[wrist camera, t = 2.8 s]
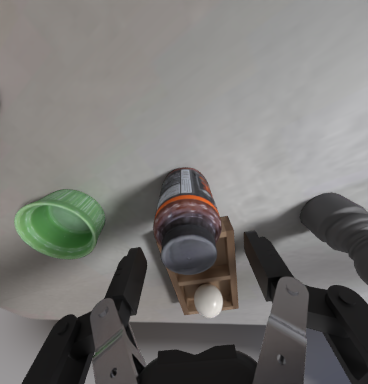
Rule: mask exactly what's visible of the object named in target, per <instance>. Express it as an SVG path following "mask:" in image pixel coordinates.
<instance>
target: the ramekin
mask: <svg viewBox="0 0 368 384" xmlns="http://www.w3.org/2000/svg"><path fill="white" fill-rule="evenodd" d="M104 223H105V214H104V211H103V209H102V208H101V206H100V205H99V204H98V203H97V202H96V201H95V200H94V199H93V198H92V197H90V196H88V195H86V194H84V193H82V192H79V191H75V190H67V189H65V190H59V191H56V192H53V193H51V194H49V195H47V196H46V197H44V198H42V199H40V200H38V201H36V202H33V203H30V204H28V205H26V206H24V207H22V208H21V209H20V210H19V211H18V212H17V214H16V215H15V219H14V224H15V228H16V231H17V233H18V234H19V236H20V237H21V238H22V240H23V241H24V242H25V243H26V244H28V245H29V246H30V247H32V248H33V249H35V250H36V251H38V252H40V253H42V254H45V255H47V256H50V257H53V258H59V259H78V258H82V257H84V256H86V255H88V254H89V253H91V252H92V250H93V249H94V247H95V245H96V243H97V239H98V236H99V234H100V232H101V230H102V228H103V226H104Z"/></svg>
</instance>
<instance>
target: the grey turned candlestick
mask: <svg viewBox="0 0 368 384" xmlns="http://www.w3.org/2000/svg"><path fill="white" fill-rule="evenodd" d="M300 219H301V222H302V223H303V224H304V225H305V226H306V227H307V228H308V229H309V230H310V231H311V232H312V233H313V234H314V235H315V236H316V237H317V238H319V239H320V240H321V241H322V242H326V243H327V244H328V245H329V246H330V247H331V248H332V249H334V250H338V251H341V252H345V253H349V257H350V258H351V259H352V260H354V266H355V269H356V271H357V273H358V275H359V276H360V278H361V279H362V280H363V281H364V282H365V283H366V284H367V285H368V212H367V211H366V210H365V209H364V208H363V207H361V206H360V205H358V204H356V203H354V202H352V201H350V200H349V199H347V198H345V197H343V196H341V195H340V194H336V193H325V194H321V195H319V196H317V197H314V198H313V199H312V200H310V201H309V202H308V203H306V205H305V206H304V207H303V209H302V210H301V214H300Z"/></svg>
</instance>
